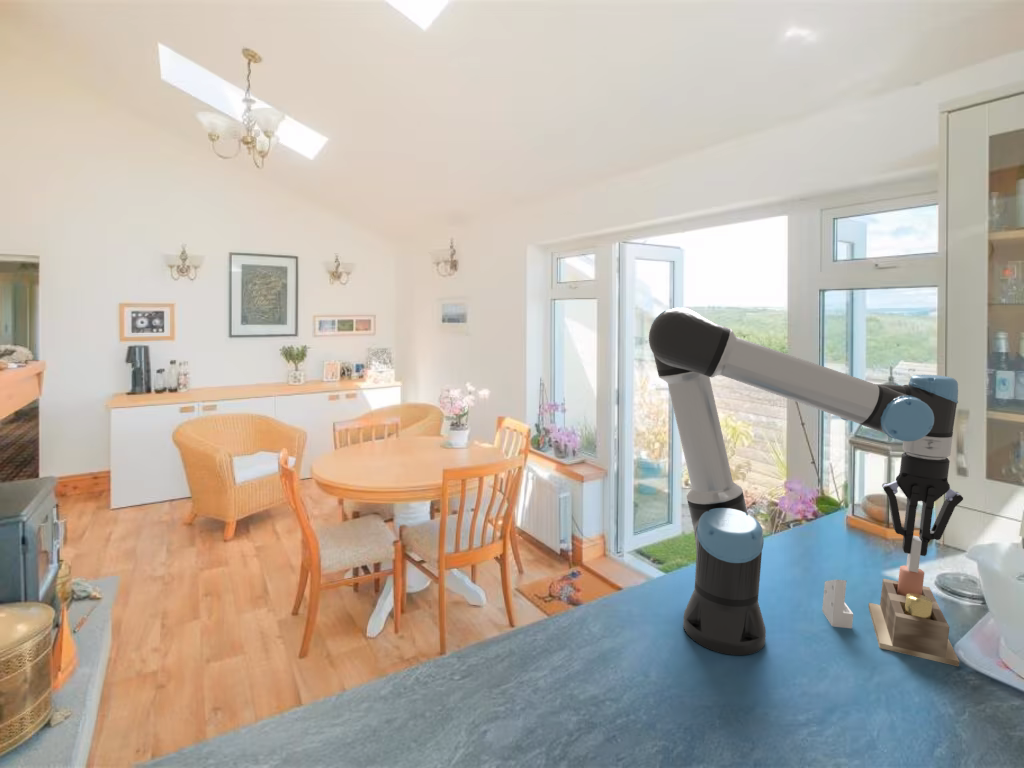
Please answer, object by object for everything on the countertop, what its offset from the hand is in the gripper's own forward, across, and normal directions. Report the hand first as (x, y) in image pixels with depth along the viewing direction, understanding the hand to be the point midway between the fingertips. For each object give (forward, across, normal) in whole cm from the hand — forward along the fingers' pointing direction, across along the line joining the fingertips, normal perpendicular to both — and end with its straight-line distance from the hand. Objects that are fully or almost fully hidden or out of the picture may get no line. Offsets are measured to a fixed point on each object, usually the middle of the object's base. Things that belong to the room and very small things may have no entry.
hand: (912, 568), depth 111 cm
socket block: (+12, 0, -4) cm, 13 cm away
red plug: (+8, 0, 0) cm, 8 cm away
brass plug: (+10, 0, -8) cm, 13 cm away
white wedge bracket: (+12, -12, -4) cm, 18 cm away
